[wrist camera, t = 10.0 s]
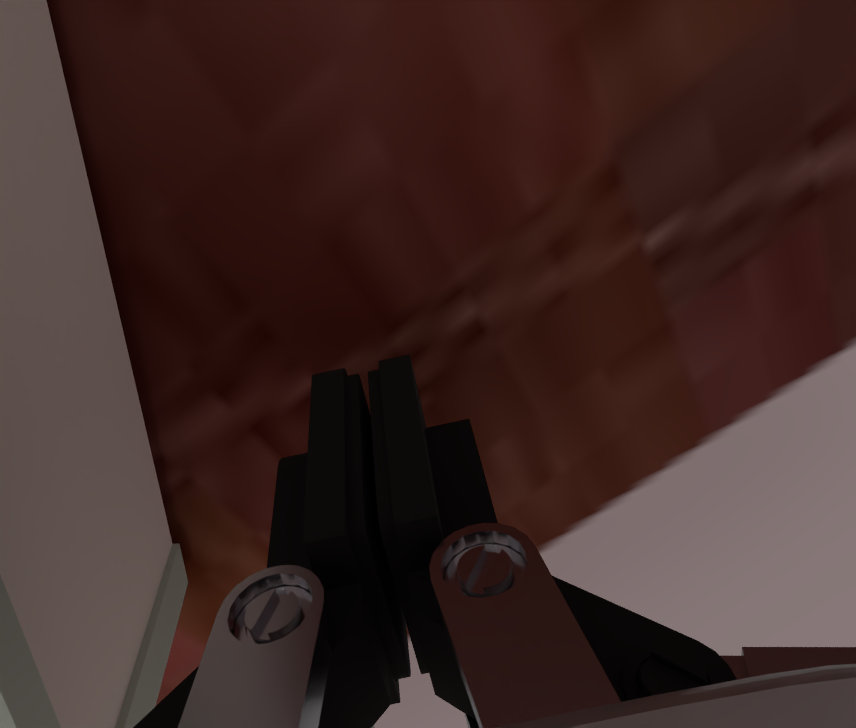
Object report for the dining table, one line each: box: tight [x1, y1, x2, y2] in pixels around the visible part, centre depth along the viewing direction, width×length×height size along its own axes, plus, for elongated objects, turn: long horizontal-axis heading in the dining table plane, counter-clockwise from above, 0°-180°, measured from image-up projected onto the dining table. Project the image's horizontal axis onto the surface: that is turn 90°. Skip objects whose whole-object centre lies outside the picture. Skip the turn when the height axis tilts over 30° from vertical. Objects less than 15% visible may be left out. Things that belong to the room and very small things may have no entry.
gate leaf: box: [0, 0, 188, 728], centre depth 14 cm, size 20×2×9 cm, turn 0°
